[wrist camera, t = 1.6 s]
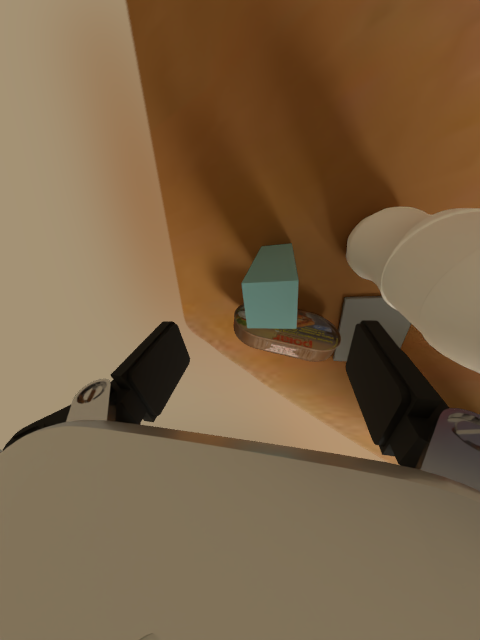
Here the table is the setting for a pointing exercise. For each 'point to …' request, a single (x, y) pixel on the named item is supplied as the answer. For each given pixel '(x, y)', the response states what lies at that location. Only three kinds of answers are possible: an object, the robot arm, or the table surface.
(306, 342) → the tin
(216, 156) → the table surface
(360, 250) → the water bottle
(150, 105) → the table surface
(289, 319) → the stick
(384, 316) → the mat
